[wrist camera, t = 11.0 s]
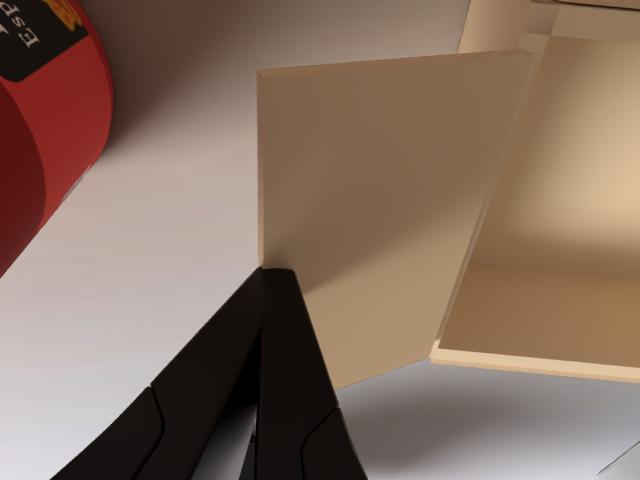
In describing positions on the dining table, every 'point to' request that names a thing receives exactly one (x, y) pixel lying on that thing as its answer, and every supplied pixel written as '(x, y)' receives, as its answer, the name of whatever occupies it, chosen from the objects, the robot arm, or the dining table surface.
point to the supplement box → (624, 467)
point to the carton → (557, 200)
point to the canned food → (47, 112)
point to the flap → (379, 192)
